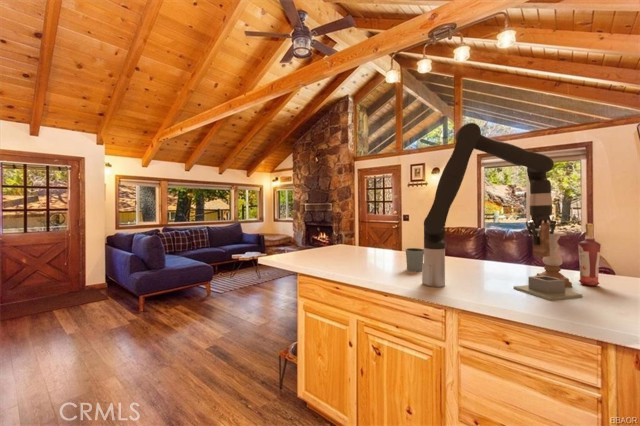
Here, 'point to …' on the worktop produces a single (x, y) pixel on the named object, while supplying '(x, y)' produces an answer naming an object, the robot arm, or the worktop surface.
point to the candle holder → (554, 260)
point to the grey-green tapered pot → (414, 259)
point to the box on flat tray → (547, 288)
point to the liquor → (589, 258)
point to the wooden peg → (543, 242)
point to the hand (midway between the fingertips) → (541, 244)
